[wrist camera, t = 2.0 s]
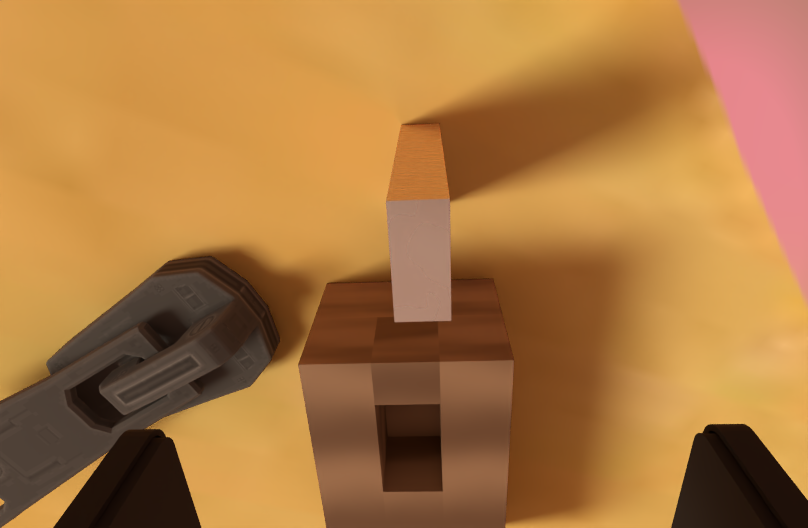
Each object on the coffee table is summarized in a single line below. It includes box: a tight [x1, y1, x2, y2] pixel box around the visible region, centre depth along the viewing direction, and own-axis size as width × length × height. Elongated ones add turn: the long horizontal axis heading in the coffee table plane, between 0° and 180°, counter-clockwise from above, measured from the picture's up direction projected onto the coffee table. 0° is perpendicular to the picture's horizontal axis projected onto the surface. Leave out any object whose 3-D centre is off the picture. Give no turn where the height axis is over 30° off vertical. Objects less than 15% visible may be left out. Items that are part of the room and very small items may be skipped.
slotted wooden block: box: [298, 279, 514, 528], centre depth 32 cm, size 22×10×8 cm, turn 3°
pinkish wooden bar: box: [386, 123, 451, 322], centre depth 23 cm, size 4×2×12 cm, turn 3°
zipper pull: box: [0, 256, 280, 528], centre depth 32 cm, size 9×7×25 cm
